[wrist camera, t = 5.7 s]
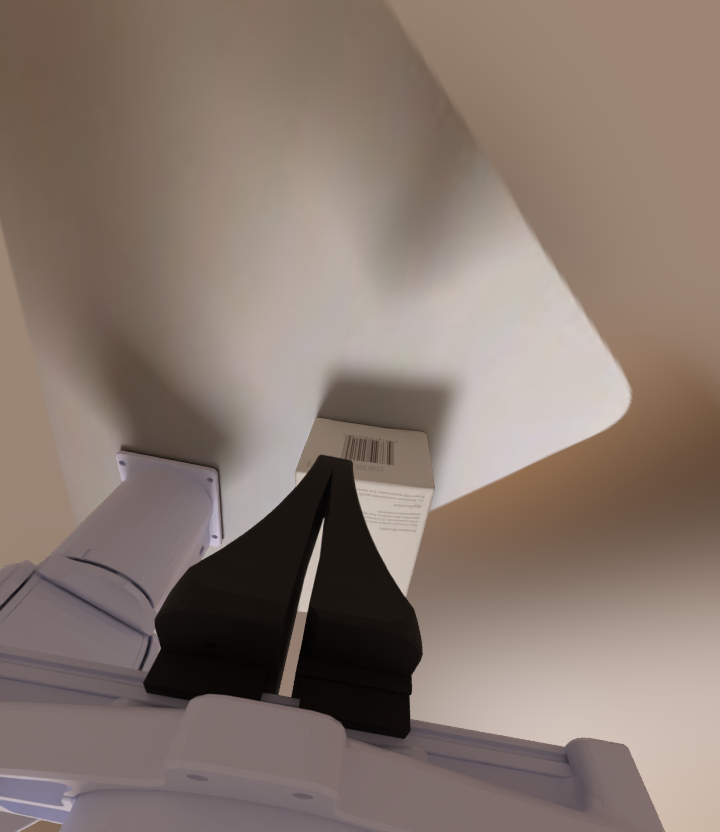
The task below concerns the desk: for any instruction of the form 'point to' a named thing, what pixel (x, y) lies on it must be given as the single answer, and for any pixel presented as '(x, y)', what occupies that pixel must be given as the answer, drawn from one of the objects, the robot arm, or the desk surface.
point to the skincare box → (377, 489)
